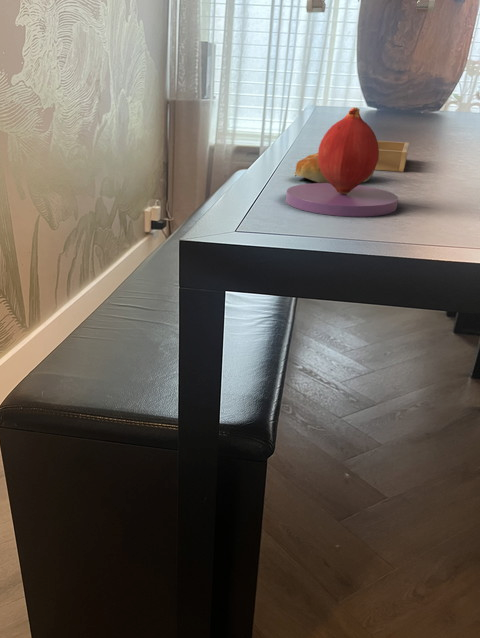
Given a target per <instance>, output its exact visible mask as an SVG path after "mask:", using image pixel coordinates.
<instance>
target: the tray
mask: <svg viewBox="0 0 480 638" xmlns="http://www.w3.org/2000/svg"><path fill="white" fill-rule="evenodd" d="M377 142H378V147H379V158H378V162H377V165H376V167H375V170H374V171H387V172H400V173H404V170H405V167H406V163H407V157H408V152H409V147H410V142H403V141H389V140H377Z"/></svg>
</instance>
